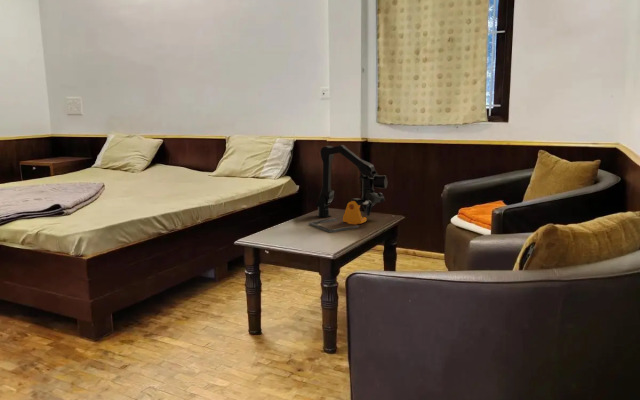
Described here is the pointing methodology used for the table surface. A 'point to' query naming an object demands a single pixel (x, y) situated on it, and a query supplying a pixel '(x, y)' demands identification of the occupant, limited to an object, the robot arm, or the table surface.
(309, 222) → the rail bay
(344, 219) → the bracket
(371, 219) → the table surface
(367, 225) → the table surface
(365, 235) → the table surface
